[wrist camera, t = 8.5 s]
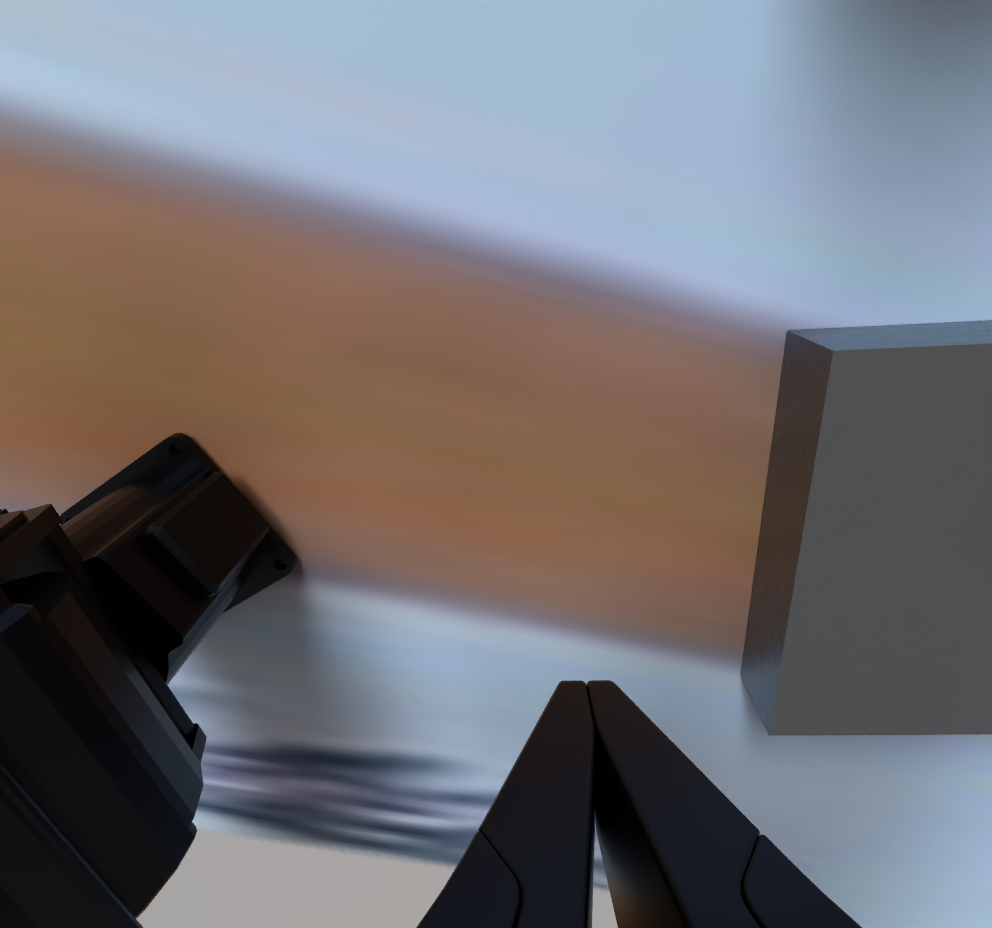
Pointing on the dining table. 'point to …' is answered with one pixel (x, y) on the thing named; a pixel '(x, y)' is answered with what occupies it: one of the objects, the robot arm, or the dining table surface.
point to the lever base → (877, 536)
